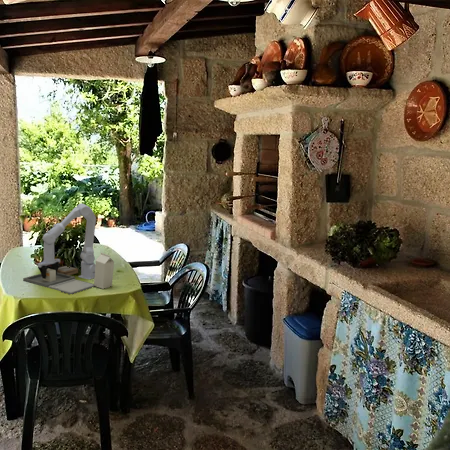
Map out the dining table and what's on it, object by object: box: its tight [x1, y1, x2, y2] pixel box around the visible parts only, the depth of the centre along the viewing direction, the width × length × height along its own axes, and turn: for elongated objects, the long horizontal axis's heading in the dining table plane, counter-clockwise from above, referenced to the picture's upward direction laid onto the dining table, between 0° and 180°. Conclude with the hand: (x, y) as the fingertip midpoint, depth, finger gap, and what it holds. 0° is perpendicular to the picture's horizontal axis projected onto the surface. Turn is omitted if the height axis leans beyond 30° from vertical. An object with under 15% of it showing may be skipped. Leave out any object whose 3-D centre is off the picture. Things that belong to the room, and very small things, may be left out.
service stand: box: [57, 265, 79, 276], centre depth 306 cm, size 10×10×3 cm
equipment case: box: [22, 273, 97, 295], centre depth 286 cm, size 38×20×2 cm, turn 60°
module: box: [43, 267, 56, 282], centre depth 290 cm, size 6×4×6 cm
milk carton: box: [93, 252, 115, 290], centre depth 283 cm, size 7×7×19 cm
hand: (49, 276), depth 290 cm, fingers open, 7 cm apart
